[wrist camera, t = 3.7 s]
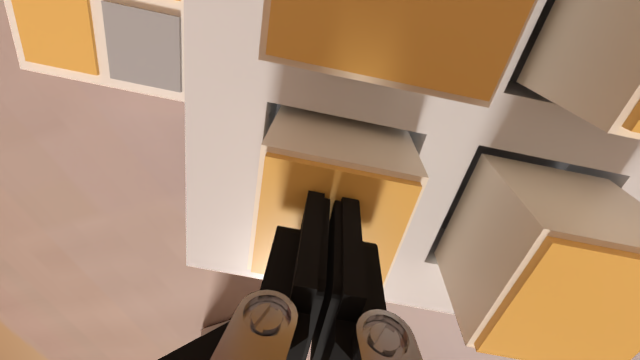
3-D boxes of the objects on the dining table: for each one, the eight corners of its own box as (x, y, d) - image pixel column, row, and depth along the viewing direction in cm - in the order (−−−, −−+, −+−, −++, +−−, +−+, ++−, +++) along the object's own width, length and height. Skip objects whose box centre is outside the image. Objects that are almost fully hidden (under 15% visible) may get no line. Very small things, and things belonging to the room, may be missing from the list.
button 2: (608, 178, 13) (735, 271, 9) (541, 272, 16) (614, 380, 12) (481, 153, 13) (549, 236, 9) (434, 252, 16) (468, 354, 11)
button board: (844, -155, 11) (1072, -218, 8) (535, 278, 21) (573, 336, 18) (234, -312, 10) (178, -464, 7) (213, 217, 20) (186, 265, 17)
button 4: (404, 123, 14) (431, 183, 10) (372, 220, 17) (382, 299, 13) (284, 98, 14) (258, 148, 10) (270, 200, 17) (245, 274, 13)
